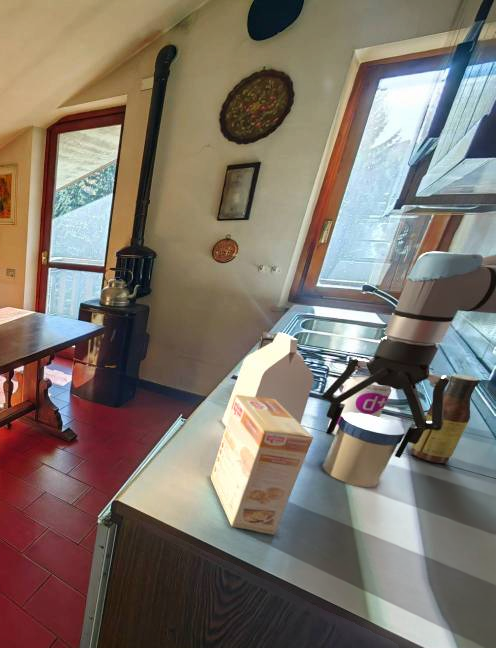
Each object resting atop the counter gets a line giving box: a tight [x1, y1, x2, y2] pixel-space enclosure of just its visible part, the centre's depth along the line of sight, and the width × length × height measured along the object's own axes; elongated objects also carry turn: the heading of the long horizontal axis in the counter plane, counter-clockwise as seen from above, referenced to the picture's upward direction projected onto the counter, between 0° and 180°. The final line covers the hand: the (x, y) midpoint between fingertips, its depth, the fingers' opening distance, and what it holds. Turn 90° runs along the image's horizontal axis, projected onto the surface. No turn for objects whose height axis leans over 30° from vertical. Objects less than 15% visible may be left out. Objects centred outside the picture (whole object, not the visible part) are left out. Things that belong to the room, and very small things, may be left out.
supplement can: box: [327, 374, 392, 436], centre depth 97 cm, size 8×8×15 cm
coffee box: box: [257, 331, 278, 350], centre depth 129 cm, size 9×6×16 cm
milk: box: [221, 332, 315, 427], centre depth 94 cm, size 12×12×26 cm
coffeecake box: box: [210, 395, 314, 536], centre depth 70 cm, size 15×7×20 cm, turn 164°
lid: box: [338, 413, 406, 446], centre depth 79 cm, size 10×10×2 cm
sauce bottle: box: [410, 373, 481, 464], centre depth 87 cm, size 6×6×20 cm
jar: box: [322, 428, 398, 488], centre depth 81 cm, size 9×9×12 cm
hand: (362, 442), depth 81 cm, fingers open, 10 cm apart
